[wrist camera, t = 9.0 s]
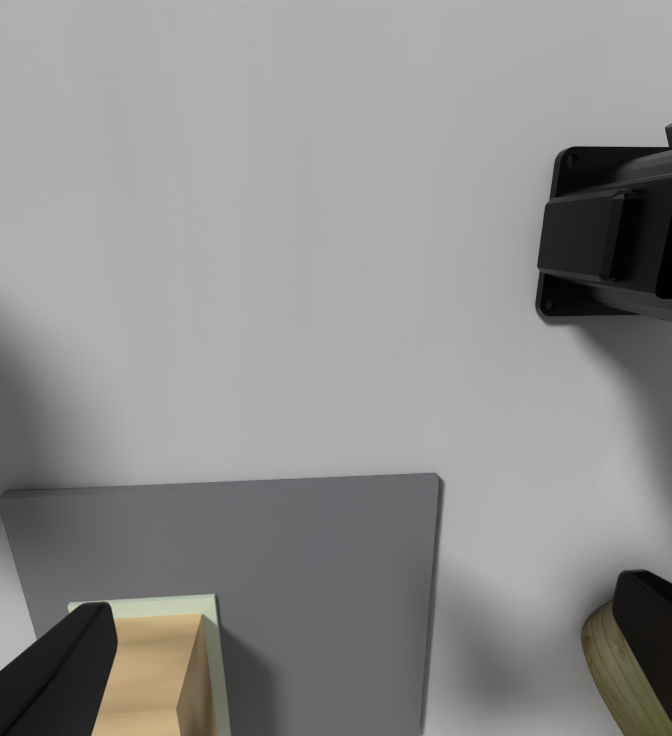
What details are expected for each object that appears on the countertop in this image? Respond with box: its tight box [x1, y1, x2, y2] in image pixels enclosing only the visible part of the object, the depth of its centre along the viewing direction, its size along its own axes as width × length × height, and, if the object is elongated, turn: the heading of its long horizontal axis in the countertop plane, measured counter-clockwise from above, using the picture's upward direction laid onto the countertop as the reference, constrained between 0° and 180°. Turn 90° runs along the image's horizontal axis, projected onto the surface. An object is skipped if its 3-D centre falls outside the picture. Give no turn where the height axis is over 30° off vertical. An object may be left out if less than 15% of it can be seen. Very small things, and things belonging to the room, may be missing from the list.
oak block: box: [91, 613, 218, 736], centre depth 20 cm, size 9×6×4 cm, turn 1°
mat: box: [0, 473, 439, 736], centre depth 22 cm, size 20×18×1 cm
